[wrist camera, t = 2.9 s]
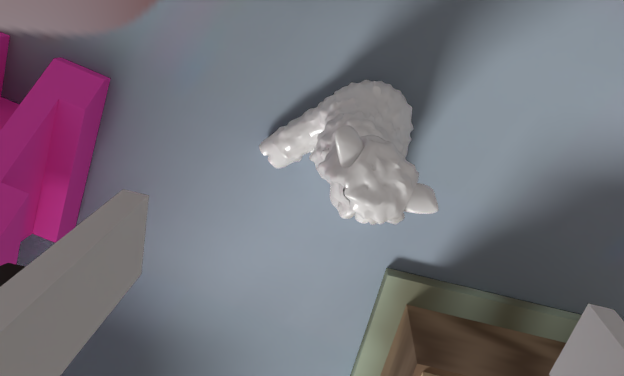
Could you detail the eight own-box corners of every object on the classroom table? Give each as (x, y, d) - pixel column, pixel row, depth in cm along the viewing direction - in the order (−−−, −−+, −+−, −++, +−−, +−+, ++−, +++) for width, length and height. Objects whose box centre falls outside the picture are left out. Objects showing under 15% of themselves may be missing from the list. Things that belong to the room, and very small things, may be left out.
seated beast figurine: (257, 148, 31) (204, 226, 20) (327, 36, 28) (311, 56, 17) (371, 220, 33) (381, 332, 21) (450, 121, 30) (509, 191, 18)
